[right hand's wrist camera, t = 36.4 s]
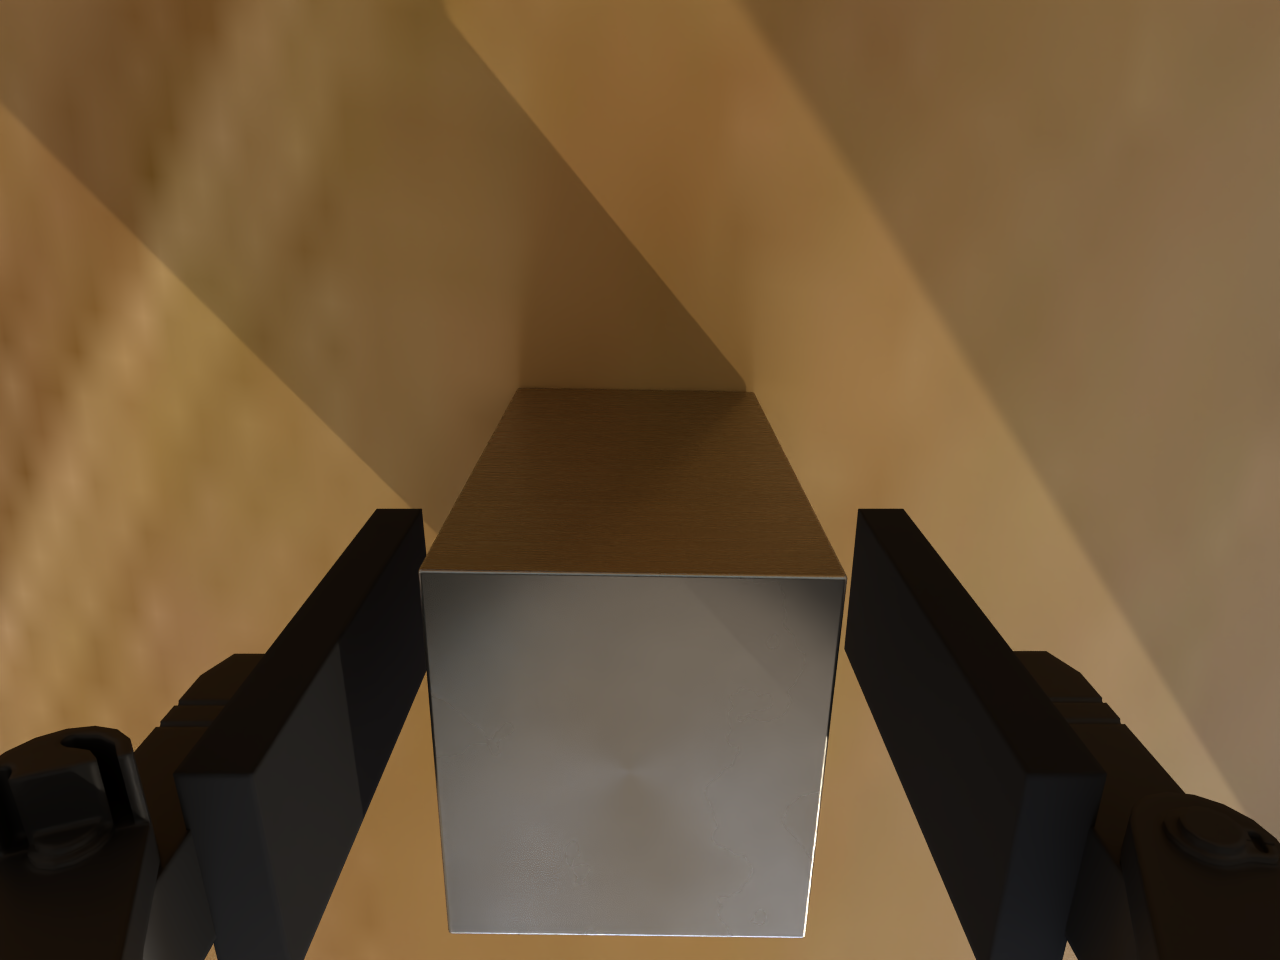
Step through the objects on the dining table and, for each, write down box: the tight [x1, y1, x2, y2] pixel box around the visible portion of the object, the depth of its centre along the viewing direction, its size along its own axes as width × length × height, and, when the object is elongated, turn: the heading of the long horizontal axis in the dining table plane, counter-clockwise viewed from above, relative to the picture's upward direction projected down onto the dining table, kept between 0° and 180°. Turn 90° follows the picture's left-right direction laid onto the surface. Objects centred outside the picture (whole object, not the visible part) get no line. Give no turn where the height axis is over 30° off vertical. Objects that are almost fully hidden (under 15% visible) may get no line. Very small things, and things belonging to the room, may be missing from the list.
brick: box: [418, 388, 847, 938], centre depth 14 cm, size 5×5×8 cm
